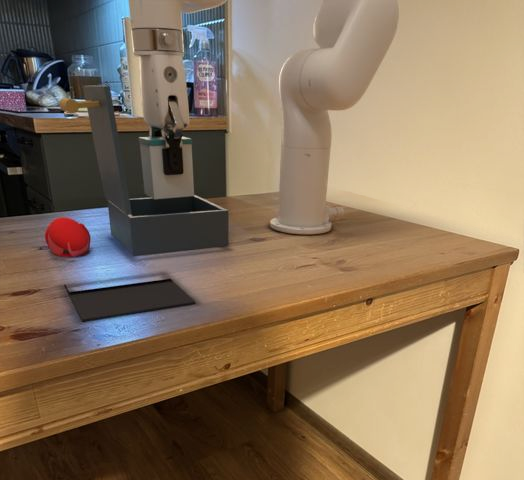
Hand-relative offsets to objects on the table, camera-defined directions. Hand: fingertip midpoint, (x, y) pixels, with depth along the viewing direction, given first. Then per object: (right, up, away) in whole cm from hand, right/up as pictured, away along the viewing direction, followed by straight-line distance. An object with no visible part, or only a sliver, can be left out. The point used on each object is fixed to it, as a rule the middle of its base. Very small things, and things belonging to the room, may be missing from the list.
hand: (167, 170), depth 83 cm
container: (0, -3, +2) cm, 4 cm away
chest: (-1, -11, +5) cm, 12 cm away
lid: (-8, +1, -6) cm, 10 cm away
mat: (-2, -23, -17) cm, 29 cm away
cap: (-15, -15, -3) cm, 21 cm away
